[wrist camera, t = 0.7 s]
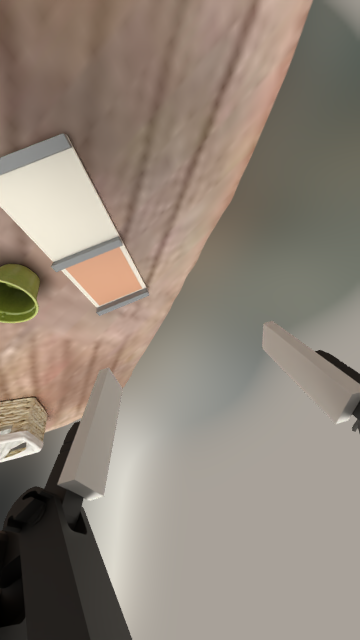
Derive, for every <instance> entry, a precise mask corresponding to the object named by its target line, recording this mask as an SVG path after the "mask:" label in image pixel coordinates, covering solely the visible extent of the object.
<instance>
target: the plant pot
mask: <svg viewBox="0 0 360 640" xmlns="http://www.w3.org/2000/svg"><path fill="white" fill-rule="evenodd" d="M39 284H40V280H39V278H38V276H37V275H36V274H35V273H34V272H32V271H31V270H30V269H29V268H27V267H25V266H22V265H18V264H6V265H3V266H1V267H0V322H3V323H20V322H25V321H28V320H30V319H32V318H33V317H35V316H36V314H37V313H38V309H39V306H38V303H37V294H38V289H39Z"/></svg>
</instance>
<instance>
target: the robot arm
mask: <svg viewBox="0 0 360 640" xmlns="http://www.w3.org/2000/svg"><path fill="white" fill-rule="evenodd" d="M262 349H263V350H264V351H265V352H266V353H267V354H268V355H269V356H270V357H271V358H272V359H273V360H274V361H275V362H276V363H277V364H278V365H279V366H280V367H281V368H282V369H283V370H284V371H285V372H286V373H287V374H288V375H289V376H290V377H291V378H292V380H294V382H295V383H296V384H297V385H298V386H299V387H300V388H301V389H302V390H303V391H304V392H305V393H306V394H307V395H308V396H309V397H310V398H311V399H312V400H313V401H314V402H315V403H316V404H317V405H318V407H320V408H321V410H323V412H325V414H326V415H327V416H328V417H329V418H330V419H331V420H332V421H333V422H334V423H335V424H338V423H341V422H344V421H347V420H349V418H350V417H351V415H352V414H353V415H354V416H355V417H356V418H357V421H356V422H355V424H354V425H353V427H352V431H356V429H357V428H358V429H359V433H360V374H359V373H358V372H356V371H355V370H353V369H352V368H350V367H348V366H347V365H346V364H344V363H343V362H340V361H339V360H338V359H337V358H335V357H334V356H332V355H331V354H329V353H326V352H324V351H321V350H318V351H313V350H312V349H311V348H309V347H308V346H306V345H305V344H304V343H302V342H301V341H299V340H298V339H297V338H295V337H294V336H293V335H291V334H290V333H288V332H287V331H286V330H284V329H283V328H282V327H280V326H279V325H277V324H276V323H275V322H273V321H270V322H266V323H264V325H263V341H262ZM122 389H123V388H122V387H121V385H120V384H119V382H118V381H117V379H116V378H115V376H114V375H113V373H112V372H111V370H110V369H109V368H106V369H102V370H100V371H99V373H98V376H97V379H96V381H95V384H94V387H93V389H92V392H91V395H90V398H89V400H88V403H87V406H86V408H85V411H84V414H83V416H82V419H81V421H79V422H76V423H74V425H73V426H72V427H71V429H70V430H69V432H68V433H67V435H66V438H65V440H64V444H63V445H62V447H61V450H60V454H59V455H58V457H57V460H56V462H55V464H54V467H53V469H52V472H51V474H50V476H49V479H48V481H47V484H46V486H45V488H44V489H43V488H40V487H33V488H30V489H28V490H27V491H26V492H25V493H23V494H22V495H21V496H20V497H19V499H18V500H17V501H16V502H15V503H14V504H13V506H12V508H11V509H10V511H9V512H8V514H7V517H6V519H5V521H4V526H3V530H2V531H0V640H132V638H131V635H130V632H129V630H128V627H127V624H126V621H125V619H124V616H123V613H122V611H121V608H120V605H119V603H118V600H117V597H116V595H115V592H114V589H113V587H112V584H111V581H110V578H109V576H108V573H107V570H106V567H105V565H104V562H103V559H102V557H101V554H100V551H99V548H98V546H97V543H96V541H95V538H94V535H93V532H92V530H91V527H90V524H89V522H88V519H87V516H86V513H85V511H84V509H83V507H82V502H83V498H85V499H87V500H93V499H97V498H99V497H103V496H104V491H105V485H106V480H107V474H108V468H109V463H110V457H111V452H112V446H113V440H114V434H115V429H116V424H117V418H118V412H119V406H120V401H121V396H122Z"/></svg>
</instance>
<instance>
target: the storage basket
mask: <svg viewBox="0 0 360 640" xmlns="http://www.w3.org/2000/svg"><path fill="white" fill-rule="evenodd" d="M47 416H48V415H47V413H46V411H45V410H44V408H43V407H42V406H41V405H40V404H39V402H38V401H37V400H36V398H23V399H16V400H12V401H11V400H9V401H4V402H0V462H4V461H7V460H11V459H15V458H19V457H22V456H26V455H29V454H33V453H36V452H39V451H40V450H41V449H42V446H43V438H44V432H45V427H46V421H47ZM24 442H27V444H26V447H25V448H21V449H16V450H11V449H12V448H14V447H16V446H18V445H19V444H21V443H24ZM10 450H11V451H10Z"/></svg>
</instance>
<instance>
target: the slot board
mask: <svg viewBox="0 0 360 640" xmlns="http://www.w3.org/2000/svg"><path fill="white" fill-rule="evenodd" d="M0 206H1V208H2V209H3V210H4V211H5V212H6V213H7V214H8V215H9V216H10V217H11V218H12V219H13V220H14V221H15V222H16V223H17V224H18V225H19V226H20V227H21V229H22V230H23V231H24V232H25V233H26V234H27V235H28V236H29V237H30V238H31V239H32V240H33V241H34V242H35V243H36V244H37V245H38V246H39V247H40V248H41V250H42V251H43V252H44V253H45V254H46V255H47V256H48V257H49V258H50V259H51V260H52V261H53V264H52V266H51V267H52V268H53V269H54V270H55V271H56V272H58V271H62V272H63V273H64V274H65V275H66V276H67V277H68V278H69V279H70V280H71V281H72V282H73V283H74V284H75V285H76V286H77V287H78V288H79V289H80V291H81V292H82V293H83V294H84V295H85V296H86V297H87V298H88V299H89V300H90V301H91V302H92V303H93V304H94V305H95V306H96V307H97V312H96V313H97V314H98V315H99V316H100V315H102V314H105V313H107V312H110V311H112V310H115V309H117V308H120V307H122V306H125V305H127V304H129V303H132V302H134V301H137V300H139V299H142V298H144V297H147V296H149V293H148V289H147V287H146V285H145V283H144V281H143V280H142V278H141V276H140V274H139V272H138V270H137V268H136V266H135V264H134V262H133V260H132V258H131V256H130V255H129V253H128V251H127V249H126V247H125V245H124V243H123V241H122V239H121V237H120V235H119V233H118V232H117V230H116V228H115V226H114V224H113V222H112V220H111V218H110V216H109V214H108V212H107V210H106V209H105V207H104V205H103V203H102V201H101V199H100V197H99V195H98V193H97V191H96V189H95V187H94V185H93V184H92V182H91V180H90V178H89V176H88V174H87V172H86V170H85V168H84V166H83V164H82V162H81V161H80V159H79V157H78V155H77V153H76V151H75V149H74V147H73V145H72V143H71V141H70V139H69V138H68V136H67V135H66V134H64V133H62V134H60V135H57V136H55V137H52V138H50V139H47V140H44V141H42V142H39V143H37V144H34V145H32V146H29V147H27V148H24V149H21V150H19V151H16V152H14V153H11V154H9V155H6V156H3V157H1V158H0Z"/></svg>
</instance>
